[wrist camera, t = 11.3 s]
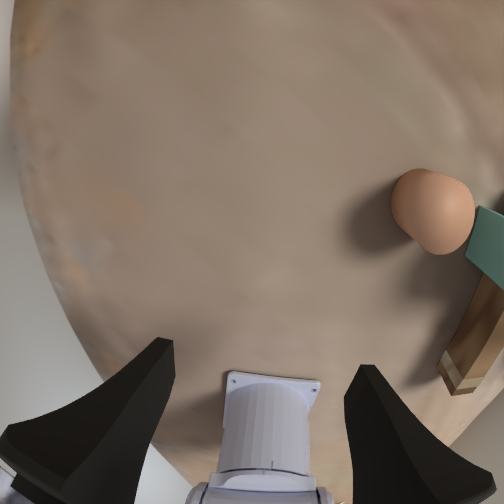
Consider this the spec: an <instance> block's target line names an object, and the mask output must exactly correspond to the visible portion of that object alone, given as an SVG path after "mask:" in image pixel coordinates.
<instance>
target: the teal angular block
mask: <svg viewBox="0 0 504 504" xmlns="http://www.w3.org/2000/svg"><path fill="white" fill-rule="evenodd" d="M465 257H467V258H468V259H469V260H470V261H471V262H473V263H474V264H475V265H476V266H477V267H478V268H480V269H481V270H482V271H483V272H484V273H485V274H486V275H488V276H489V277H490V278H491V279H492V280H493V281H494V282H495V283H496V284H497V285H499V286H500V287H501V288H502V289H503V290H504V216H503V215H501V214H500V213H498V212H496V211H493V210H490V209H488V208H485V207H482V206H480V207H479V211H478V214H477V218H476V222H475V225H474V228H473V232H472V235H471V238H470V241H469V244H468V248H467V250H466V253H465Z"/></svg>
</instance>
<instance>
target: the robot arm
mask: <svg viewBox="0 0 504 504" xmlns="http://www.w3.org/2000/svg"><path fill="white" fill-rule="evenodd" d="M174 379H175V363H174V349H173V340H169V339H164V338H160V337H157V338H156V339H155V340H154V341H152V342H151V343H150V344H149V345H148V346H147V347H146V348H145V349H144V350H143V351H142V352H141V353H140V354H139V355H137V356H136V357H135V358H134V359H133V360H132V361H131V362H129V363H128V364H127V365H126V366H125V367H124V368H122V369H121V370H120V371H119V372H117V373H116V374H115V375H114V376H112V377H111V378H110V379H108V380H107V381H106V382H104V383H103V384H102V385H100V386H99V387H97V388H96V389H94V390H93V391H91V392H90V393H88V394H86V395H85V396H83V397H81V398H79V399H78V400H76V401H74V402H72V403H70V404H68V405H66V406H64V407H62V408H60V409H58V410H55V411H53V412H50V413H48V414H45V415H42V416H40V417H37V418H34V419H30V420H27V421H23V422H19V423H15V424H10V425H8V426H7V428H6V429H5V431H4V432H3V434H2V435H1V437H0V458H1V459H2V460H3V461H4V462H5V463H7V464H8V465H9V466H10V467H11V468H12V469H13V470H14V471H16V472H17V474H16V476H15V477H13V476H12V475H11V474H10V473H8V472H7V471H6V470H5V469H3V468H2V467H1V466H0V504H134V501H135V496H136V492H137V487H138V483H139V479H140V475H141V471H142V467H143V463H144V460H145V456H146V453H147V449H148V447H149V444H150V441H151V439H152V436H153V434H154V432H155V430H156V427H157V425H158V423H159V420H160V418H161V416H162V413H163V411H164V409H165V406H166V404H167V402H168V399H169V397H170V393H171V390H172V386H173V383H174ZM320 387H321V383H320V382H319V381H316V380H304V379H292V378H282V377H273V376H265V375H257V374H250V373H243V372H236V371H231V372H229V373H228V378H227V388H226V397H225V407H224V417H223V428H224V434H223V439H222V444H221V450H220V455H219V460H218V466H217V471H216V473H213V472H212V473H211V474H210V479H209V483H207V482H201V483H199V484H198V485H197V486H195V487H194V488H193V489H192V490H191V491H190V493H189V494H188V497H187V499H186V502H185V504H335V503H334V499H333V496H332V495H331V493H329V492H328V491H327V490H326V488H324V487H316V477H314V476H312V477H311V470H310V443H309V423H308V413H309V411H310V409H311V407H312V405H313V403H314V401H315V398H316V396H317V394H318V392H319V390H320ZM344 413H345V423H346V429H347V435H348V441H349V447H350V453H351V460H352V468H353V504H479V503H480V502H482V501H484V500H485V499H487V498H488V497H489V496H491V495H492V494H493V493H495V491H496V485H495V482H494V479H493V476H492V473H491V472H488V471H486V470H484V469H482V468H480V467H478V466H476V465H474V464H472V463H471V462H469V461H467V460H466V459H464V458H463V457H461V456H459V455H458V454H456V453H455V452H454V451H452V450H451V449H450V448H449V447H447V446H446V445H445V444H443V443H442V442H441V441H440V440H439V439H437V438H436V437H435V436H434V435H433V434H432V433H431V432H430V431H429V430H428V429H427V428H426V427H425V426H424V425H423V424H422V423H421V422H420V421H419V420H418V419H417V418H416V416H415V415H414V414H413V413H412V412H411V411H410V410H409V408H408V407H407V406H406V405H405V404H404V402H403V401H402V400H401V399H400V397H399V396H398V395H397V394H396V392H395V391H394V390H393V388H392V387H391V386H390V384H389V383H388V382H387V380H386V379H385V378H384V376H383V375H382V374H381V373H380V371H379V370H378V369H377V368H376V366H375V365H363V364H361V365H360V367H359V369H358V371H357V373H356V375H355V377H354V379H353V381H352V382H351V384H350V386H349V388H348V390H347V392H346V394H345V396H344Z"/></svg>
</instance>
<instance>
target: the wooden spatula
mask: <svg viewBox="0 0 504 504" xmlns="http://www.w3.org/2000/svg"><path fill="white" fill-rule="evenodd" d="M503 347H504V290H503V289H502V288H501V287H500V286H499V285H497V284H496V283H495V282H494V281H493V280H492V279H491V278H490V277H489V276H488V275H486V274H485V273H484V272H483V275H482V277H481V280H480V282H479V285H478V287H477V290H476V292H475V294H474V297H473V299H472V301H471V303H470V305H469V308H468V310H467V312H466V314H465V316H464V318H463V320H462V322H461V324H460V326H459V328H458V330H457V332H456V334H455V335H454V337H453V339H452V341H451V343H450V345H449V346H448V348H447V350H445V352H444V354H443V356H442V357H441V359H440V362H439V363H438V365H437V368H438V370H439V372H440V374H441V376H442V378H443V380H444V382H445V384H446V386H447V388H448V390H449V392H450V394H451V396H455V395H461V394H468V393H473V391H474V390H475V389H476V387H477V386H479V384H480V383H481V382H482V380H483V379H484V377H485V375H486V373H487V372H488V370H489V369H490V367H491V366H492V364H493V363H494V361H495V360H496V358H497V357H498V355H499V353H500V352H501V350H502V348H503Z"/></svg>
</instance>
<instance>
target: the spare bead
mask: <svg viewBox="0 0 504 504" xmlns="http://www.w3.org/2000/svg"><path fill="white" fill-rule="evenodd" d="M391 211H392V215H393V217H394V220H395V221H396V223H397V224H398V225H399V227H401V228H402V229H403V230H404V231H405V232H406V233H407V234H409V235H410V236H411V237H412V238H413V239H414V240H415V241H416V242H417V243H419V244H420V245H421V246H422V247H423V248H424V249H425V250H427V251H428V252H430V253H432V254H436V255H444V254H448V253H451V252H453V251H455V250H456V249H457V248H459V247H460V246H461V245H462V244H463V243H464V242H465V240H466V239H467V237H468V236H469V234H470V232H471V229H472V226H473V223H474V217H475V206H474V201H473V198H472V195H471V193H470V191H469V190H468V188H467V187H466V186H465V185H464V184H463V183H462V182H460V181H458V180H456V179H453V178H450V177H448V176H445V175H442V174H439V173H436V172H433V171H430V170H426V169H414V170H411V171H408V172H407V173H405V174H404V175H403V176H402V177H401V178H400V179H399V180H398V181H397V183H396V185H395V187H394V189H393V192H392V196H391Z"/></svg>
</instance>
